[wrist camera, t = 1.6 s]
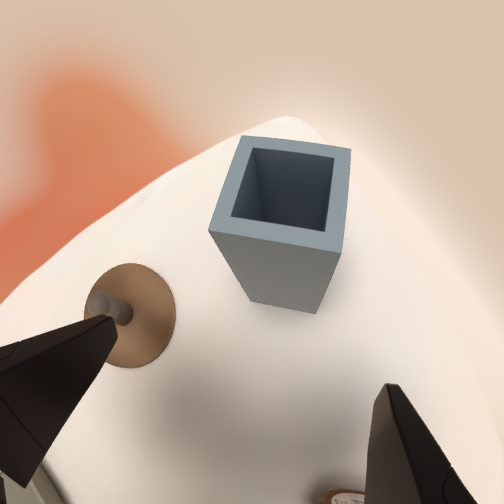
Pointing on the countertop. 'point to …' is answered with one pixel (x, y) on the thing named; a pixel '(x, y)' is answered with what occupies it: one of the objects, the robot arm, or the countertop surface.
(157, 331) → the pin base
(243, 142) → the sleeve
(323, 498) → the tin
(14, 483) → the cake pan
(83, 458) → the countertop surface
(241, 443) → the countertop surface
